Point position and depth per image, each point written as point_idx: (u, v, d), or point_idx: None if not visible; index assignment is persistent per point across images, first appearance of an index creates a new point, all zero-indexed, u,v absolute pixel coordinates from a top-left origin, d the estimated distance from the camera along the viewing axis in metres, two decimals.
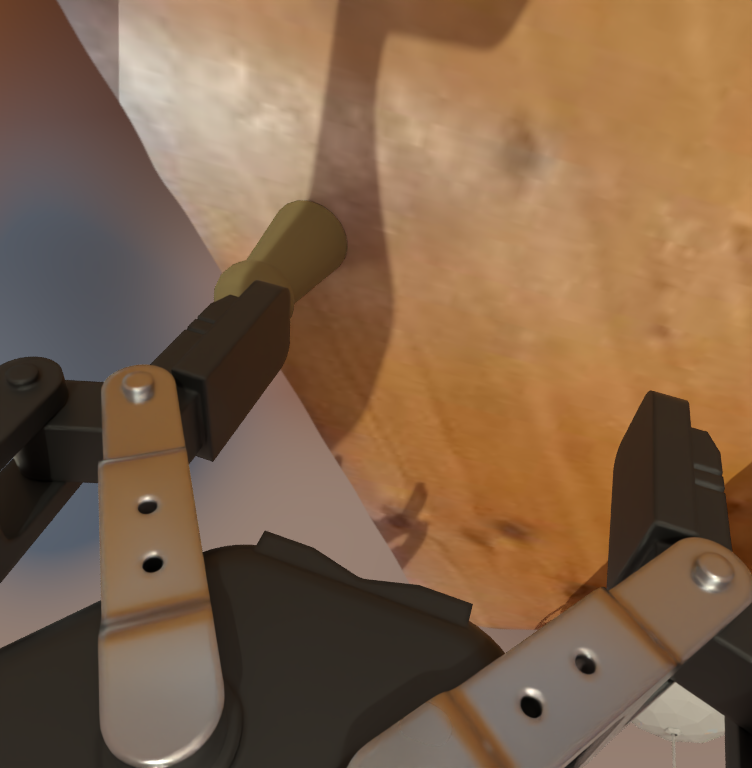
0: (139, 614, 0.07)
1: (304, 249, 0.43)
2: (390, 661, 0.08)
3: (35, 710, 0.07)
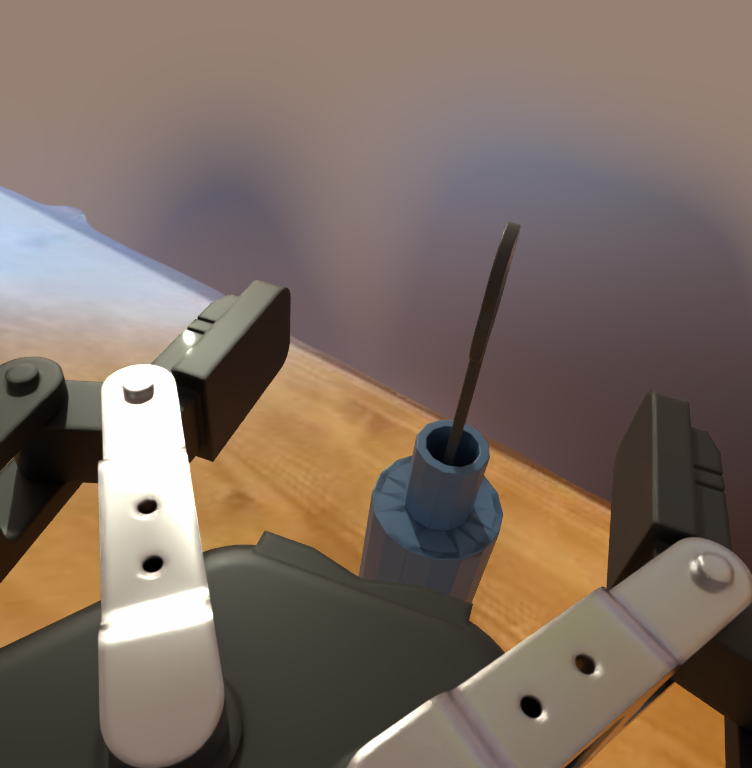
0: (139, 614, 0.07)
1: None
2: (390, 661, 0.08)
3: (35, 710, 0.07)
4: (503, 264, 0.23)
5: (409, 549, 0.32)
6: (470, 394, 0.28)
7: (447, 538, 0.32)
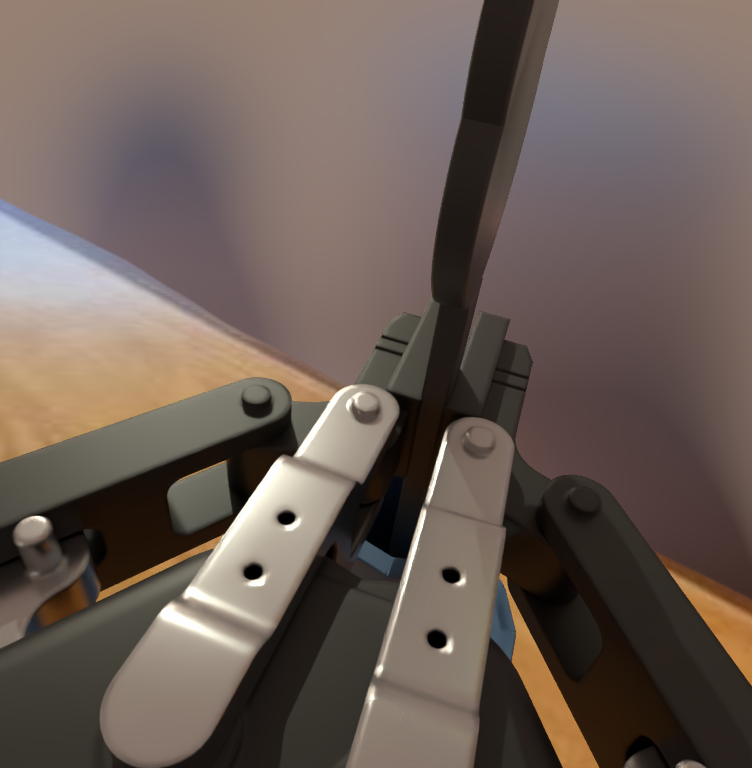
0: (209, 608, 0.07)
1: None
2: None
3: (31, 739, 0.07)
4: None
5: None
6: (443, 399, 0.11)
7: None
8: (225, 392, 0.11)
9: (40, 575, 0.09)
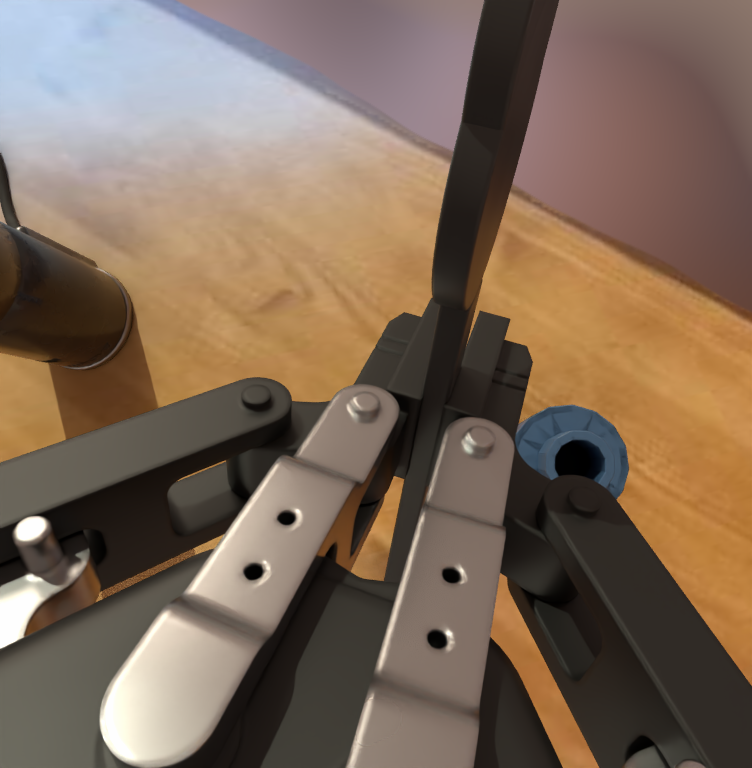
0: (209, 608, 0.07)
1: None
2: None
3: (31, 739, 0.07)
4: None
5: None
6: (443, 400, 0.11)
7: None
8: (225, 392, 0.11)
9: (40, 575, 0.09)
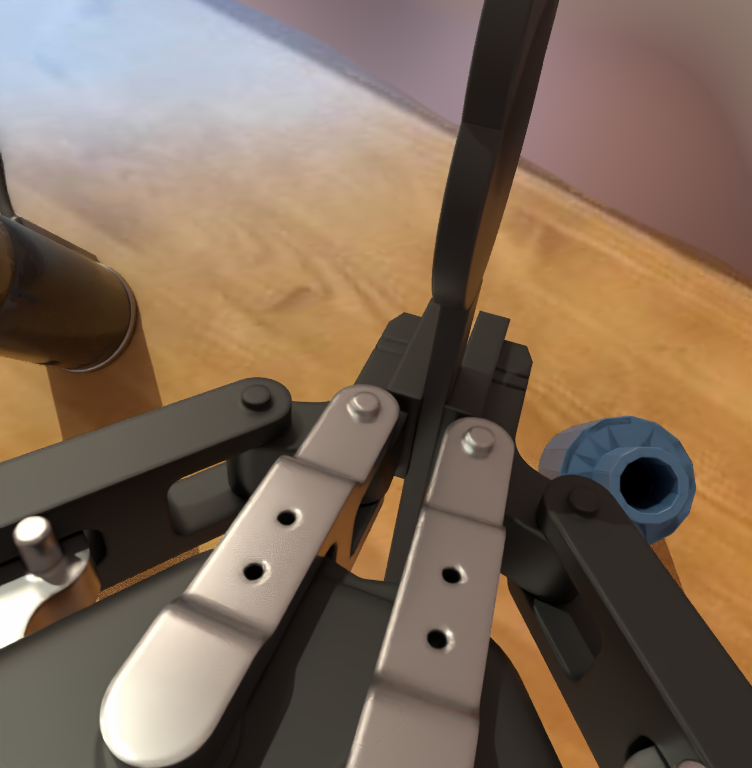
0: (209, 609, 0.07)
1: None
2: None
3: (30, 739, 0.07)
4: None
5: None
6: (443, 400, 0.11)
7: (635, 523, 0.34)
8: (225, 392, 0.11)
9: (40, 575, 0.09)
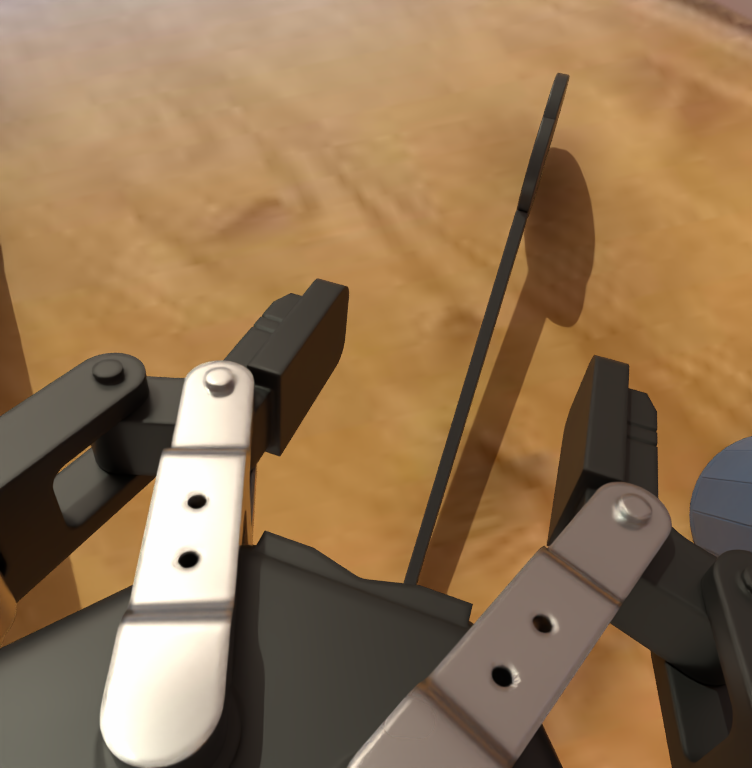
0: (164, 607, 0.07)
1: None
2: (390, 661, 0.08)
3: (36, 719, 0.07)
4: (565, 78, 0.25)
5: None
6: (512, 259, 0.26)
7: None
8: (73, 376, 0.11)
9: None
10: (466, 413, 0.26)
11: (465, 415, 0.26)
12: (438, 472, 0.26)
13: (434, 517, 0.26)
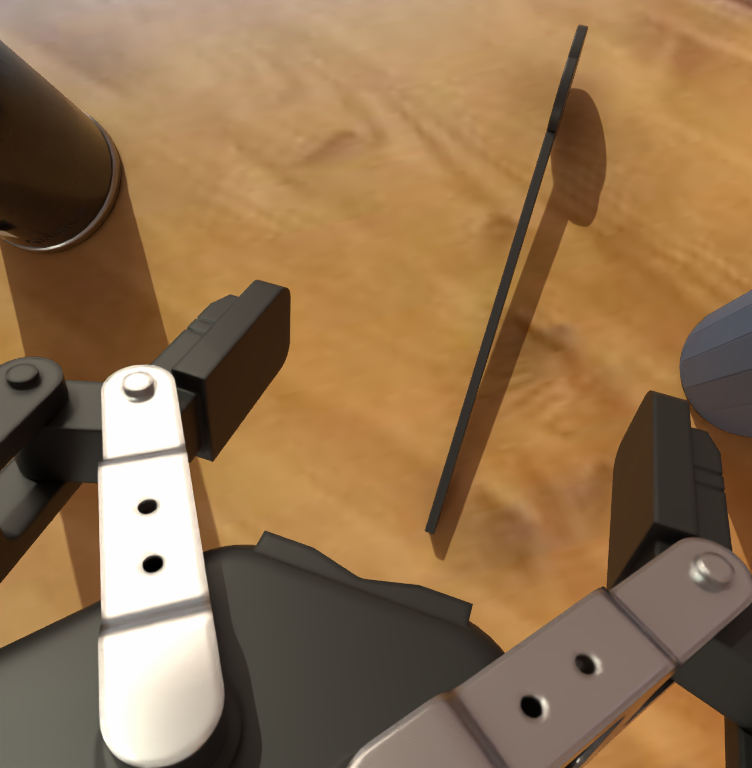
0: (139, 614, 0.07)
1: None
2: (390, 661, 0.08)
3: (35, 710, 0.07)
4: (584, 27, 0.32)
5: None
6: (543, 169, 0.33)
7: None
8: None
9: None
10: (507, 288, 0.33)
11: (506, 289, 0.33)
12: (485, 333, 0.33)
13: (482, 368, 0.33)
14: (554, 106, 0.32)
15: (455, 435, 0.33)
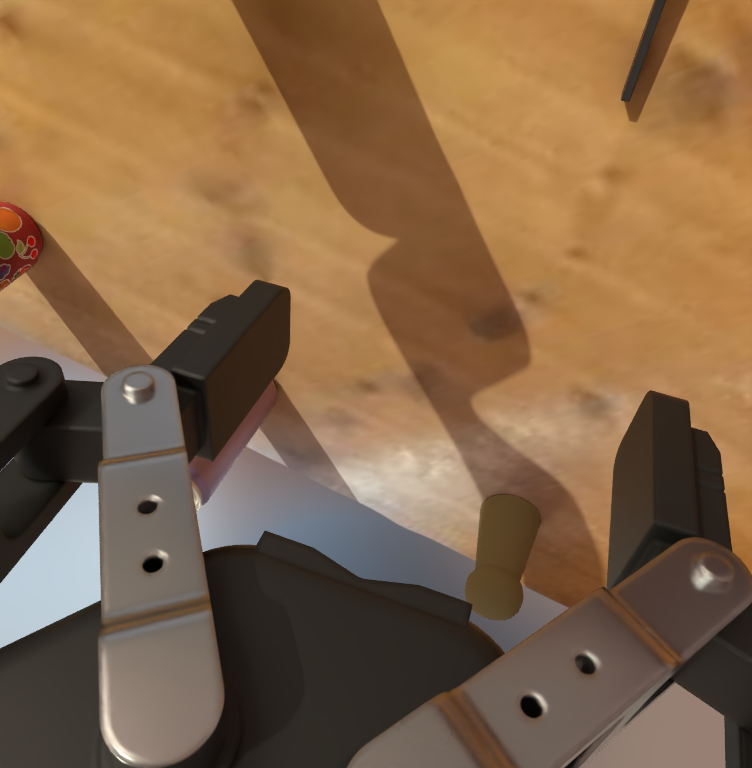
0: (139, 614, 0.07)
1: (505, 536, 0.59)
2: (390, 661, 0.08)
3: (35, 710, 0.07)
4: None
5: None
6: None
7: None
8: None
9: None
10: None
11: None
12: None
13: None
14: None
15: None
